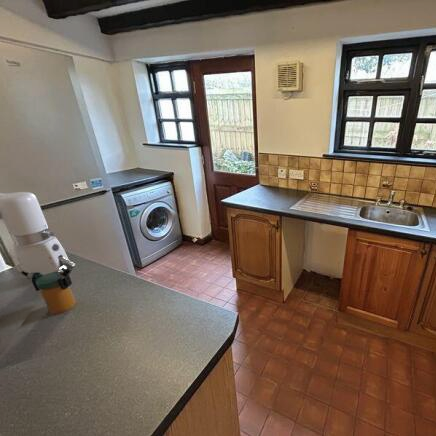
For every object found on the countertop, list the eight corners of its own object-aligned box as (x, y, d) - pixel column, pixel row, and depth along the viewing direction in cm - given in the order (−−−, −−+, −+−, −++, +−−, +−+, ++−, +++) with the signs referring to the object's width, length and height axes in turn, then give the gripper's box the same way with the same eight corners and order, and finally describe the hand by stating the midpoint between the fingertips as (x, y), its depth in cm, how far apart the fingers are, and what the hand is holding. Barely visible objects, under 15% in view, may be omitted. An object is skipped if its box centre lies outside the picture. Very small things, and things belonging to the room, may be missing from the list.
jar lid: (46, 277, 77) (44, 272, 76) (71, 274, 78) (69, 269, 78) (31, 291, 71) (29, 285, 70) (59, 287, 73) (57, 282, 72)
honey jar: (46, 316, 74) (32, 288, 70) (53, 303, 80) (41, 276, 76) (72, 310, 77) (61, 282, 73) (78, 297, 82) (67, 271, 78)
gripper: (75, 229, 73) (92, 278, 80) (11, 231, 71) (34, 281, 78) (55, 241, 66) (76, 294, 73) (-17, 243, 64) (12, 296, 71)
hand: (54, 286), depth 75 cm, fingers closed on jar lid, 6 cm apart
